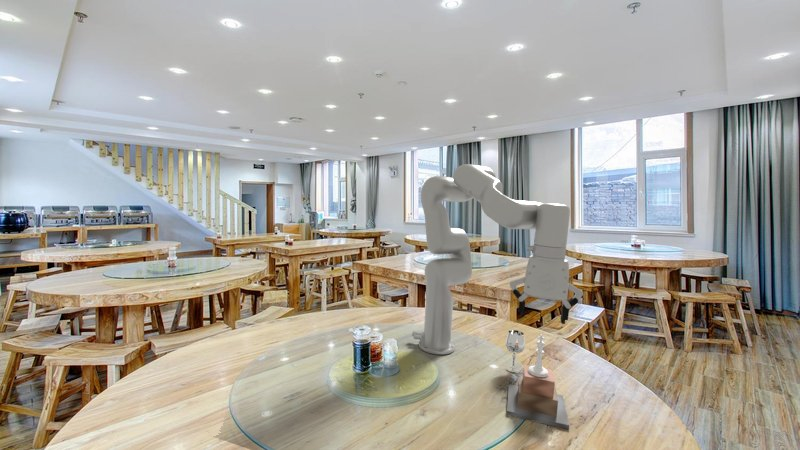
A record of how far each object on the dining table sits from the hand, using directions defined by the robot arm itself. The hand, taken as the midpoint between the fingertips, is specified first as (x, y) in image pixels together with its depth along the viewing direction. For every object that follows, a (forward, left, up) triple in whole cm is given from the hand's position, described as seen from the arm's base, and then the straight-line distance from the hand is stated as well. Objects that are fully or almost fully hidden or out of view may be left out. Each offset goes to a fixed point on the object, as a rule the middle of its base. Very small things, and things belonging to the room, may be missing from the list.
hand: (542, 318), depth 91 cm
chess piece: (0, 0, -14) cm, 14 cm away
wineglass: (-6, +19, -23) cm, 30 cm away
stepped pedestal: (0, 0, -23) cm, 23 cm away
